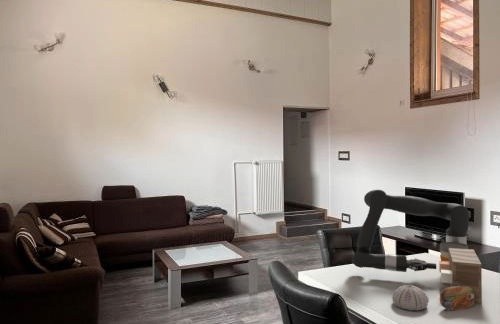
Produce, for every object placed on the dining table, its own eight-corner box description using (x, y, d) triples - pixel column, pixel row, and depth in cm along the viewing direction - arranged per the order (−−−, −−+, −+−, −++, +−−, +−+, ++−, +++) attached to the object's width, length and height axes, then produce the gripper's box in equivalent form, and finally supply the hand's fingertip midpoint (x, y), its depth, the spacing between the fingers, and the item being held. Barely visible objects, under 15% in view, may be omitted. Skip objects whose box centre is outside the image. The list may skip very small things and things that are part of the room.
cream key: (440, 278, 166) (440, 269, 166) (459, 280, 164) (459, 271, 164) (441, 282, 162) (441, 272, 162) (460, 284, 159) (460, 274, 159)
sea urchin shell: (418, 316, 144) (417, 294, 144) (385, 305, 154) (384, 285, 154) (434, 306, 152) (434, 286, 152) (402, 297, 163) (402, 278, 163)
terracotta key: (439, 269, 179) (439, 260, 179) (456, 271, 176) (456, 262, 176) (439, 272, 175) (439, 263, 175) (457, 274, 172) (457, 265, 172)
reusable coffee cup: (461, 271, 195) (461, 241, 194) (473, 279, 182) (473, 247, 182) (435, 271, 196) (435, 241, 196) (445, 279, 183) (445, 247, 183)
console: (448, 282, 179) (448, 247, 179) (473, 284, 175) (473, 249, 175) (453, 301, 157) (452, 261, 157) (481, 304, 153) (481, 263, 153)
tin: (444, 312, 147) (444, 290, 147) (438, 309, 150) (438, 287, 150) (476, 307, 151) (476, 285, 151) (470, 304, 154) (469, 283, 154)
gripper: (394, 258, 178) (436, 262, 171) (396, 251, 190) (435, 254, 183) (395, 275, 178) (437, 279, 172) (396, 267, 191) (435, 270, 184)
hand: (436, 266), depth 178 cm, fingers closed
